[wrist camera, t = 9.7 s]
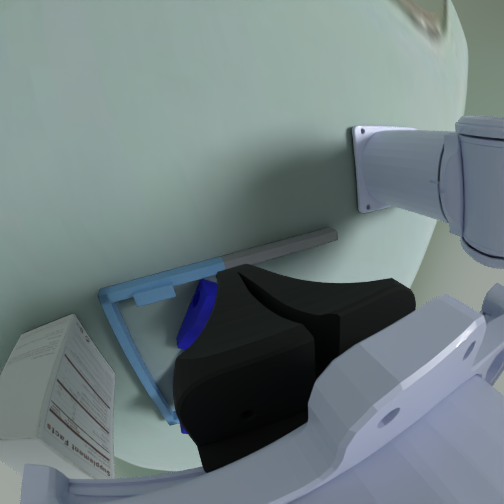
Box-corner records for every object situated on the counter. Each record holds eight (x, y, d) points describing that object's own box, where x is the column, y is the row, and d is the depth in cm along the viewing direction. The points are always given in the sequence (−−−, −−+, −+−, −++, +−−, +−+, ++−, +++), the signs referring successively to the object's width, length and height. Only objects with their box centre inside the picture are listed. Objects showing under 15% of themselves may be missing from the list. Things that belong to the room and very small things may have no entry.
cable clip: (200, 277, 21) (216, 317, 16) (249, 292, 23) (278, 332, 18) (158, 383, 23) (164, 431, 18) (201, 390, 25) (214, 435, 20)
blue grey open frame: (329, 227, 23) (340, 232, 22) (330, 362, 29) (337, 371, 28) (100, 289, 18) (96, 299, 17) (168, 417, 25) (170, 428, 23)
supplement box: (62, 388, 20) (47, 493, 8) (20, 332, 17) (-28, 437, 5) (118, 373, 21) (119, 495, 10) (76, 310, 18) (35, 438, 7)
